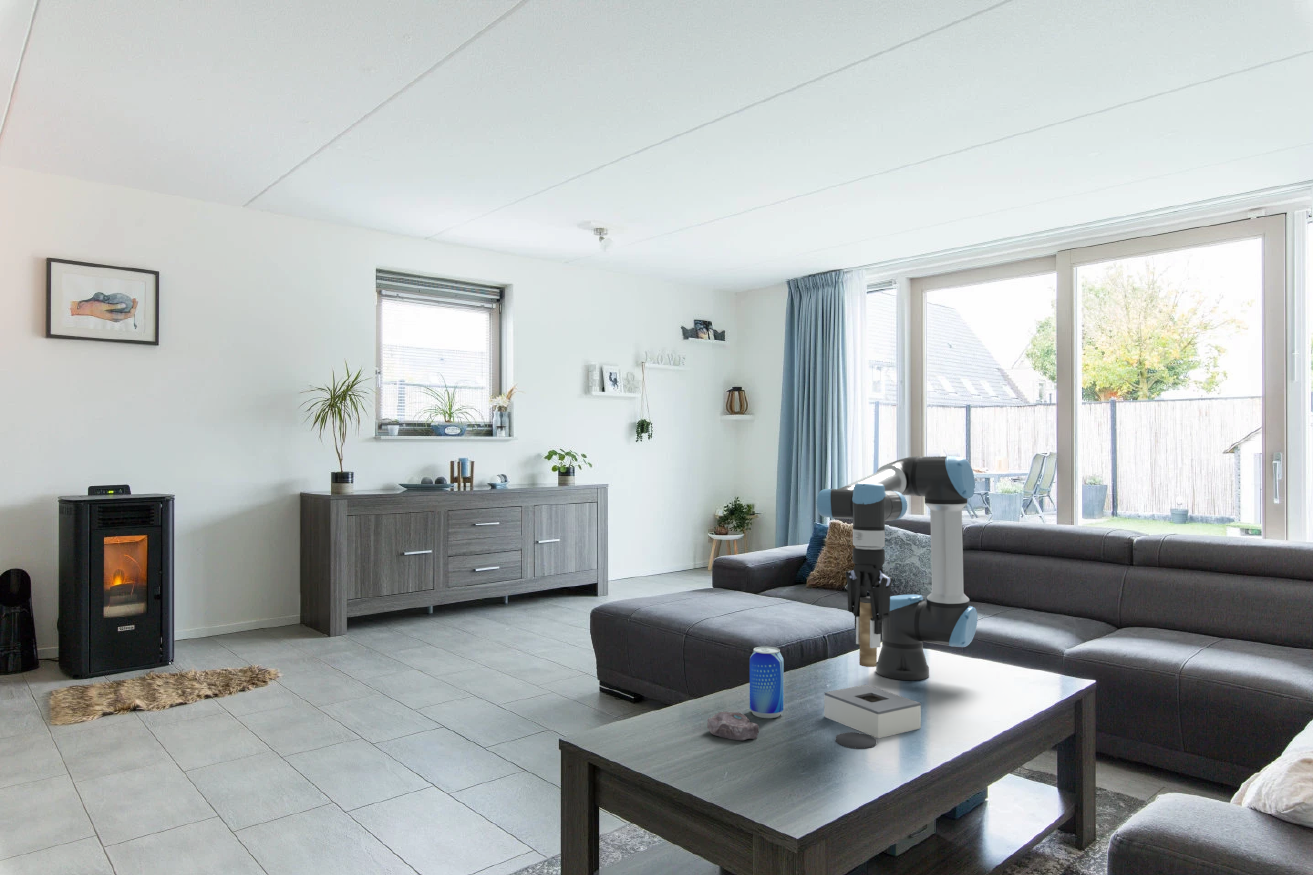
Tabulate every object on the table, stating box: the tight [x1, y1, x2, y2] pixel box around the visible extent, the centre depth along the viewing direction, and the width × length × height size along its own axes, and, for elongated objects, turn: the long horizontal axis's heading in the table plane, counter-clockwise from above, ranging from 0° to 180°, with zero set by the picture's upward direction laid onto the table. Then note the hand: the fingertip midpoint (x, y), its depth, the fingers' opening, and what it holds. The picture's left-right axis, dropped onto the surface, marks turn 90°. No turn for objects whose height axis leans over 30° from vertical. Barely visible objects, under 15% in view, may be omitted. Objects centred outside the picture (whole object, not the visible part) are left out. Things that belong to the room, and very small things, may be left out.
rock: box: [706, 711, 760, 741], centre depth 190 cm, size 8×11×5 cm
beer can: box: [749, 646, 785, 719], centre depth 206 cm, size 8×8×16 cm
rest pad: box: [835, 731, 877, 750], centre depth 186 cm, size 9×9×1 cm
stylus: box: [858, 596, 878, 668], centre depth 197 cm, size 4×4×16 cm
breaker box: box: [823, 684, 922, 739], centre depth 199 cm, size 18×14×6 cm
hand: (868, 645), depth 197 cm, fingers closed on stylus, 4 cm apart
